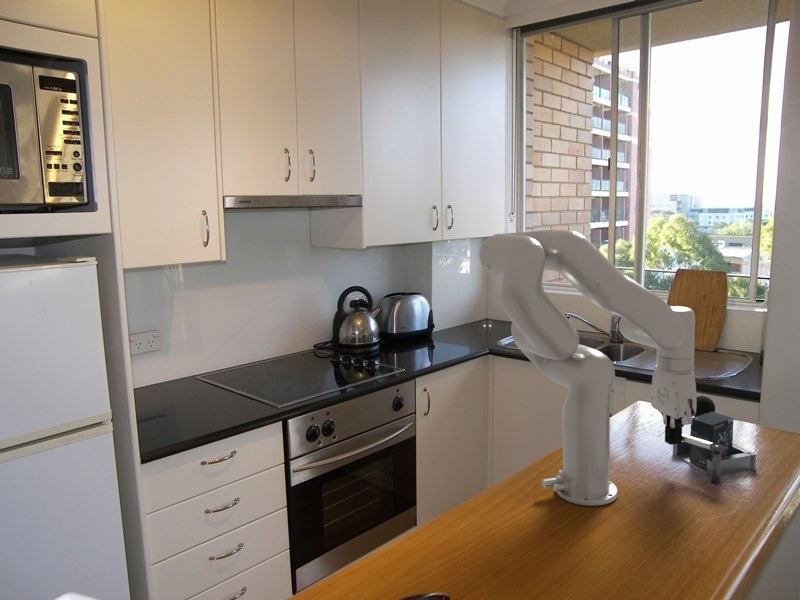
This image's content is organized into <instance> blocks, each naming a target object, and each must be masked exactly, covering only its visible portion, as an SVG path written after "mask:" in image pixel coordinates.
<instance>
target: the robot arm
mask: <svg viewBox="0 0 800 600" xmlns="http://www.w3.org/2000/svg"><path fill="white" fill-rule="evenodd" d="M478 256H479V261H480V264H481V265H482V267H483V268H484V269H485V270H486V271H487V272H488V273H490V274H492V275H494V276H499V277H502V281H501V294H500V297H501V299H500V300H501V304H502V305H501V306H502V308H503V311H504V312H505V314H506V315H507V317H508V318H509V319H510V320H511V328H510V332H511V337H512V340H513V342H514V344H515V345H516V347H517V348H518V349H519V351H521V353H523V355H524V356H526V358H527V359H528V360H529V361H530V362H531V363H532V364H533V365H534V366H535V367H536V368H537V369H538V370H539V371H540V372H541V373H542V374H543V375H544V376H545V377H547V378H548V379H549V380H551V381H553V382H554V383H556V384H559V385H561V386H564V387H565V388H567V389H568V390H567V395H566V398H565V400H564V403H563V406H562V414H561V417H562V419H561V420H562V421H561V422H562V469H560V470H559V469H558V475H555V477H548V478H543V479H541V486H542V488H543V489H551V488H552V489H553V491H554V492H556V494H557V495H558V496H559V497H560V498H562V499H563V500H565V501H567V502H569V503H572V504H576V505H580V506H588V507H594V506H603V505H607V504H610V503H612V502H614V501H615V500H616V499H617V497H618V495H619V493H618V491H619V490H618V487H617V485H615V484H614V483H613V482H612V481H611V479H610V476H611V472H610V471H611V470H610V468H611V467H610V466H611V465H610V464H611V463H610V461H611V459H610V458H611V457H610V456H611V455H610V454H611V453H610V451H611V447H610V445H611V443H610V442H611V441H610V439H611V437H610V435H611V433H610V431H611V427H610V426H611V425H610V424H611V420H610V419H611V418H610V416H611V399H612V393H613V388H614V383H615V378H616V370H615V366H614V365H613V362H612V360H611V359H610V358H609V356H608V355H606V354H605V353H603V352H602V351H600V350H597V349H595V348H592V347H589V346H587V345H583V344H580V337H579V332H578V330H577V329H576V327H575V325H574V324H573V323H572V321H570V319H569V318H568V317H567V316H566V315H565V314H564V313H563V312H562V310H561V309H560V308H558V306H556V304H555V302H553V301H552V299H551V298H550V297H549V296H548V294H547V293H546V292H545V290H544V286H543V276H544V272H545V270H548V271H553V272H557V273H559V274H560V275H561V276H562V277H563V278H564V279H565V280H566V281H568V283H569V284H571V285H572V287H574V288H575V289H576V290H577V291H578V292H579V293H580V294H581V295H582V296H584V298H586V300H588V301H589V302H590V303H591V304H593V305H594V306H597V307H598V308H600V309H602V310H604V311H607V312H609V313H611V314H614V315H616V316H618V317H620V319H619V322H618V328H619V329H618V330H619V332H620V334H621V335H622V336H623V337H624V338H625V339H627V340H628V341H630V342H632V343H637V344H639V345H642V346H647V347H651V348H653V349H656V364H655V366H654V368H653V373H652V377H651V378H652V379H651V388H650V390H651V391H650V404H651V406H652V408H653V409H655V410H656V411H658V412H659V413H660V414H661V416H662V423H663V425H665V426H664V442H665V443H666V444H668V445H671V446H673V444H680V443H682V434H683V427H685V426H686V425H687V426H688V425H691V424H692V418H693V417H694V416H695V414H696V400H697V399H696V397H697V383H696V376H695V372H694V371H695V369H694V366H695V337H696V336H695V335H696V334H695V333H696V314H695V311H694V310H693V309H692V308H690V307H687V306H681V305H680V306H679V305H675V306H673V305H669V304H668V303H667V302H665V300H664V299H662V298H661V297H659V296H658V295H657V294H655V293H653V292H652V291H651V290H649V289H648V288H646V287H644V285H642V284H640V283H638V282H637V281H636V280H634V279H633V278H631V277H629V276H628V275H625V274H624V273H622V271H621V270H619V269H618V267H616V266H615V265H614V264H613V263H612V262H611V261H610V260H609V259H608V258H607V257H606V256H605V255H604V254H603V253H602V252H601V251H600V250H599V249H598V248H597V247H596V246H595V245H594V244H593V243H592V242H591V241H590V239H588V238H587V237H585V235H584V234H581V233H580V232H577V231H575V230H569V229H568V230H563V229H542V230H541V229H540V230H533V231H521V232H518V231H517V232H510V233H509V232H505V233H504V232H503V233H495V234H493V235H490V236H489V237H487V238H486V239H485V240H484V241H483V243H482V244H481V246H480V248H479V255H478Z"/></svg>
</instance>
